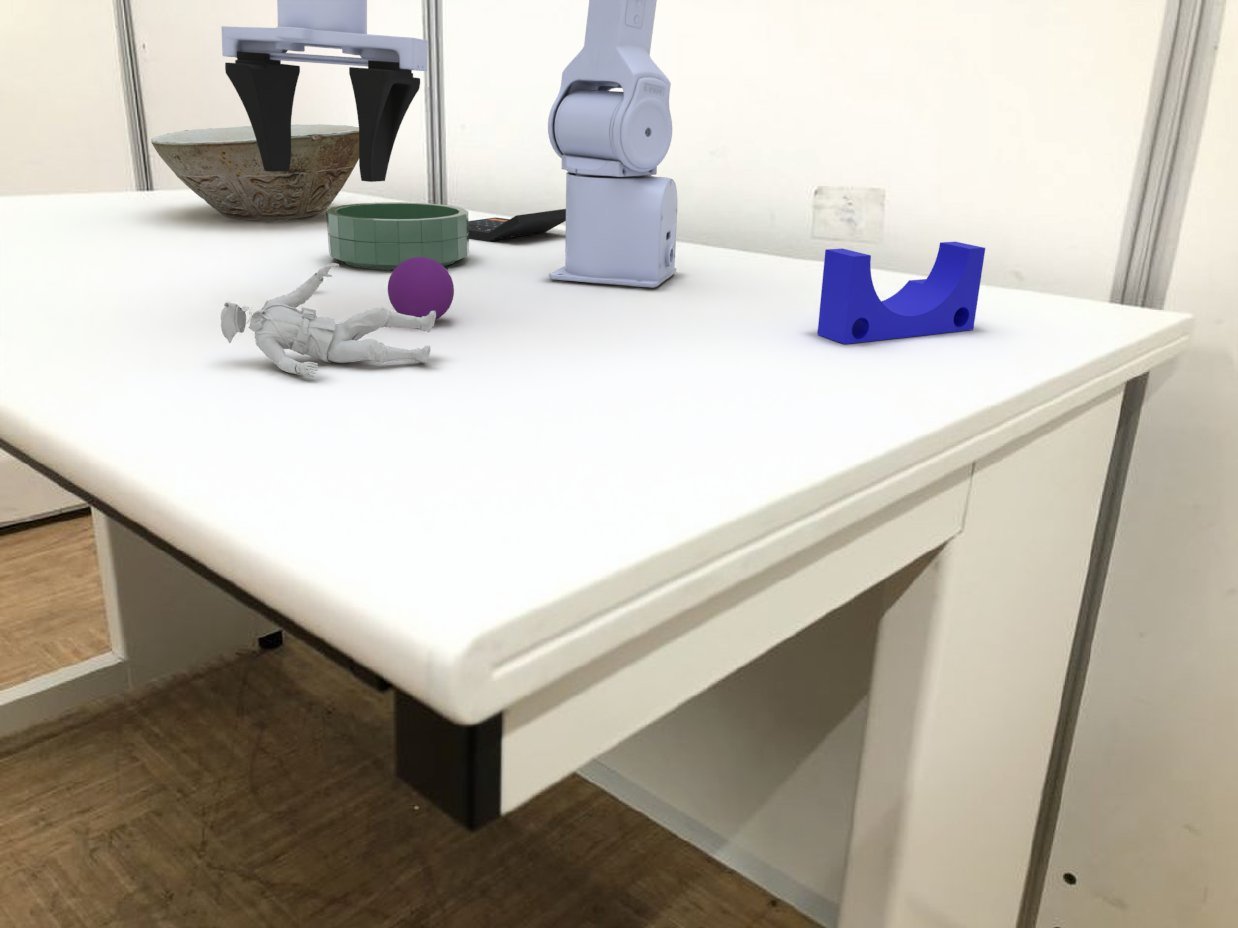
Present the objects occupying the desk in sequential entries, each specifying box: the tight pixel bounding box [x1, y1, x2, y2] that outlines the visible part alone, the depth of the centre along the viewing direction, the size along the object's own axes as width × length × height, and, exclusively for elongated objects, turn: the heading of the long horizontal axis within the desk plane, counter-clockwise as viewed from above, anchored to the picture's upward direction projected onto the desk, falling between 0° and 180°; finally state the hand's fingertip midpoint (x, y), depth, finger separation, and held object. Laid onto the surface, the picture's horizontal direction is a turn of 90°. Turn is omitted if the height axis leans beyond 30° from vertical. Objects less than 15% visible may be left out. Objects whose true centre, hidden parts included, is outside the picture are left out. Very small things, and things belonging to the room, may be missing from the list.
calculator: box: [468, 208, 566, 242], centre depth 115 cm, size 9×12×3 cm
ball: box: [387, 257, 455, 321], centre depth 75 cm, size 5×5×5 cm
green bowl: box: [325, 201, 470, 271], centre depth 98 cm, size 13×13×4 cm
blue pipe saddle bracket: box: [816, 241, 986, 345], centre depth 77 cm, size 12×4×6 cm, turn 117°
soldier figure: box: [220, 262, 436, 378], centre depth 64 cm, size 8×5×12 cm
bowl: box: [150, 124, 359, 221], centre depth 122 cm, size 24×24×10 cm
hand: (324, 176), depth 74 cm, fingers open, 7 cm apart
